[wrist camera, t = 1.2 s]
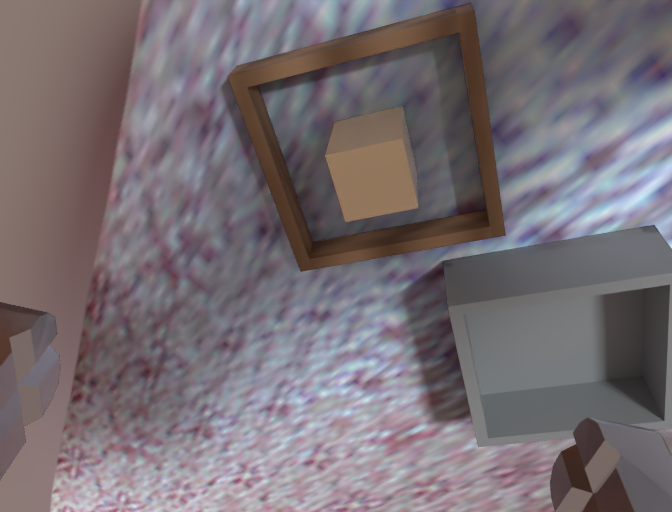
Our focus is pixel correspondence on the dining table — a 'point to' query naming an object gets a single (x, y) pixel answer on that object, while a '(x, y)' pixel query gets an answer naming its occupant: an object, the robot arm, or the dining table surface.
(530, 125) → the dining table surface
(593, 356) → the bin
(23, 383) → the robot arm
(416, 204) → the tan block
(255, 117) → the frame
